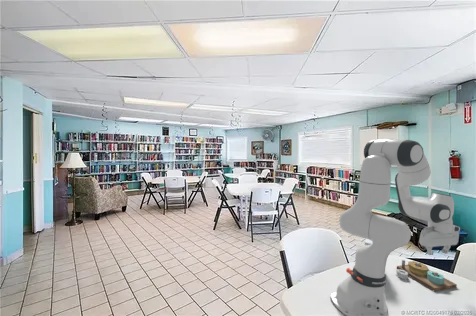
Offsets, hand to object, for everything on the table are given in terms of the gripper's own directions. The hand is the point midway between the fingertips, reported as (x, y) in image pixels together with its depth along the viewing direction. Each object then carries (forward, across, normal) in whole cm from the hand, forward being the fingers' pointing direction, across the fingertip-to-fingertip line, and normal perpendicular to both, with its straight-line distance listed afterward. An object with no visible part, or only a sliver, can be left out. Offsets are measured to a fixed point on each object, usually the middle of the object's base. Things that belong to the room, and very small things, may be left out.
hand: (437, 253), depth 108 cm
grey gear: (+15, -10, +8) cm, 20 cm away
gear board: (+15, +1, +5) cm, 16 cm away
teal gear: (+14, 0, 0) cm, 14 cm away
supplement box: (+16, -22, +15) cm, 31 cm away
